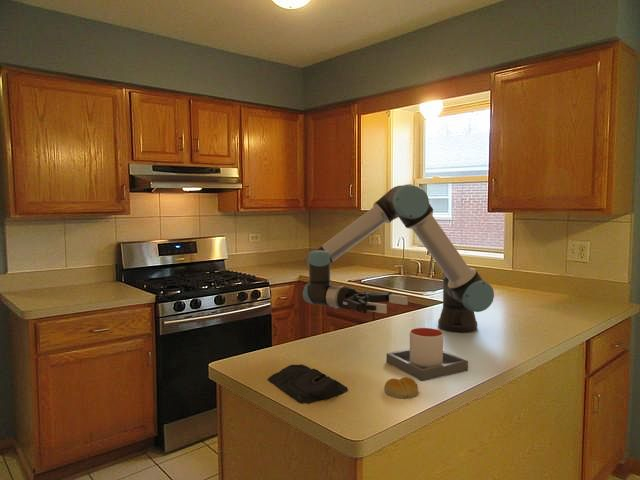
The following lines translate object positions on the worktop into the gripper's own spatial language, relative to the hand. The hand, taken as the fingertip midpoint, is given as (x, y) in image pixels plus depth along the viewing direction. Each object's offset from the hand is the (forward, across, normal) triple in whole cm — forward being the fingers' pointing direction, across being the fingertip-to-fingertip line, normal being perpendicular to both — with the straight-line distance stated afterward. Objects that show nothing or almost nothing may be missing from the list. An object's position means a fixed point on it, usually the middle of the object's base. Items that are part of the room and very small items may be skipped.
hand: (397, 304), depth 151 cm
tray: (+10, 0, -18) cm, 21 cm away
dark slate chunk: (-10, +34, -18) cm, 40 cm away
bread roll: (+13, +22, -18) cm, 31 cm away
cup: (+10, 0, -18) cm, 20 cm away
